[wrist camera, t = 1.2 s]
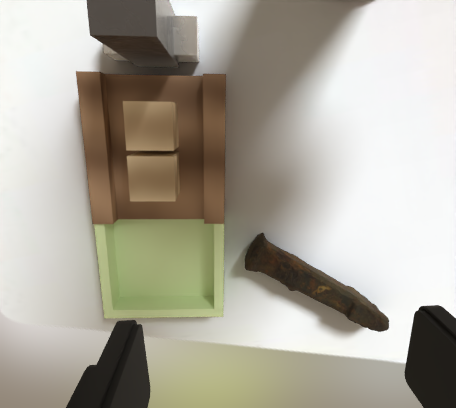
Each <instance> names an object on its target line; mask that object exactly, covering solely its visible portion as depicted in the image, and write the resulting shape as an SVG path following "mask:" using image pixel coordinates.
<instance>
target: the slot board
mask: <svg viewBox="0 0 456 408" xmlns="http://www.w3.org/2000/svg"><path fill="white" fill-rule="evenodd" d="M76 76H77V85H78V95H79V104H80V113H81V122H82V131H83V140H84V149H85V158H86V167H87V176H88V185H89V194H90V203H91V213H92V222H93V224H114V223H115V222H116V221H117V220H118V219H204V224H224V200H225V97H226V74H203V76H172V75H119V74H103V73H101V72H78V71H76ZM123 101H150V102H174V103H176V104H177V106H178V140H179V147H178V148H176V149H175V150H174V151H143V152H179V174H180V192H179V195H178V197H177V199H176V201H130V192H129V179H128V166H127V156H129V155H131V154H133V153H135V152H138V151H132V150H126V139H125V125H124V112H123Z"/></svg>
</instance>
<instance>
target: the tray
mask: <svg viewBox="0 0 456 408" xmlns="http://www.w3.org/2000/svg"><path fill="white" fill-rule="evenodd" d="M94 229H95V238H96V247H97V256H98V265H99V274H100V284H101V293H102V302H103V311H104V319H106V318H167V317H223V294H224V224H204V219H118V220H117V221H116V222H115V223H114V224H94Z"/></svg>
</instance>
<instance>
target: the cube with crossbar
mask: <svg viewBox="0 0 456 408" xmlns="http://www.w3.org/2000/svg"><path fill="white" fill-rule="evenodd" d="M87 8H88V19H89V29H90V35H91V36H92V37H94V38H95V39H97V40H98V41H100V42H101V43H103V50H104V54H106V55H108V56H109V57H111V58H113V59H114V60H116V61H130V62H131V63H133V64H134V65H136V66H137V67H179V62H199V27H198V21H197V17H195V16H175V14H174V11H173V9H172V6H171V4H170V1H169V0H87Z"/></svg>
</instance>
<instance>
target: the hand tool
mask: <svg viewBox="0 0 456 408" xmlns="http://www.w3.org/2000/svg"><path fill="white" fill-rule="evenodd" d="M245 269H246V270H249V271H254V272H258V271H259V272H262V273H264V274H266V275H268V276H270V277H272V278H274V279H276V280H278V281H280V282H281V283H282V284H284V285H286V286H287V287H288V289H289V290H290V291H295V290H297V291H299V292H301V293H304V294H306V295H308V296H309V297H311V298H313V299H315V300H317V301H319V302H321V303H323V304H325V305H327V306H330V307H332V308H334V309H336V310H338V311H339V312H341V313H343V314H345V315H346V317H347V318H348V319H349V320H351V321H353V322H355V323H358V324H360V325H361V326H363V327H366V328H367V327H368V328H369V329H370V330H375V331H378V332H381V331H385V330H387V329H388V328H389V320H388V318H387V317H386V316H385V315H384V314H383V313H382V312H380V311H379V310H378V308H377V306H376V305H374V304H372V303H371V302H370V301H368V299H367V298H366V297H364V296H363V295H361V294H360V293H359V292H358V291H356V290H355V289H354V288H352V287H350V286H345V285H344V284H342V283H340V282H338V281H337V280H335V279H334V278H332V277H330V276H328V275H327V274H325V273H324V272H322V271H320V270H318V269H316V268H314V267H312V266H311V265H309V264H307V263H306V262H304V261H302V260H301V259H299V258H298V257H296V256H295V255H293V254H290V253H288V252H287V251H284V250H282V249H280V248H278V247H276V246H275V245H273V244H272V243H270V242H268V241H267V240H266V238H265V236H264V234H263V233H261V234H260V235H258V236H257V237H256V239H255V240H254V241H253V243H252V244H251V246H250V247H249V249H248V251H247V254H246V257H245Z"/></svg>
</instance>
